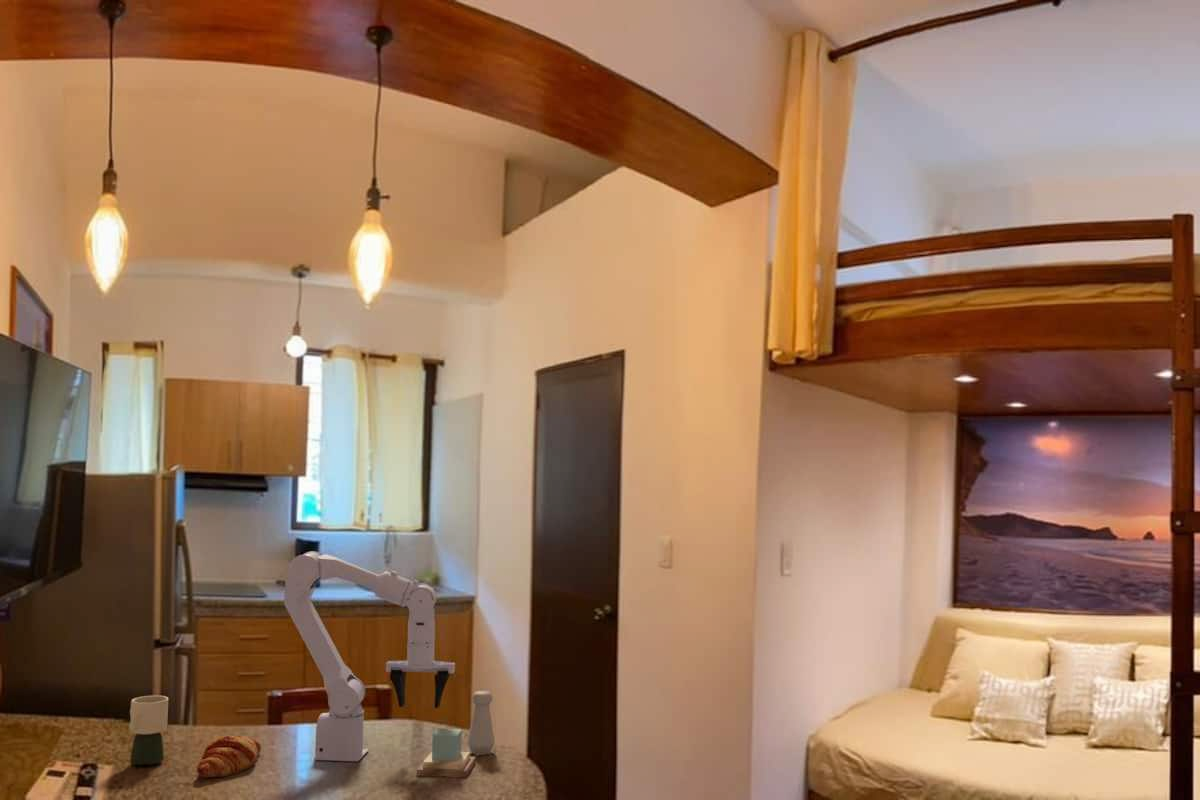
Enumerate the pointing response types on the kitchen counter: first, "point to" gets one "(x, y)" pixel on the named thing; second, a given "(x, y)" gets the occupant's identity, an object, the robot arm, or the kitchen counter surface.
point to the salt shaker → (481, 725)
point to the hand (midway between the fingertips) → (419, 706)
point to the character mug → (148, 728)
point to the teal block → (446, 744)
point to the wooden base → (446, 766)
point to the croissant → (228, 756)
